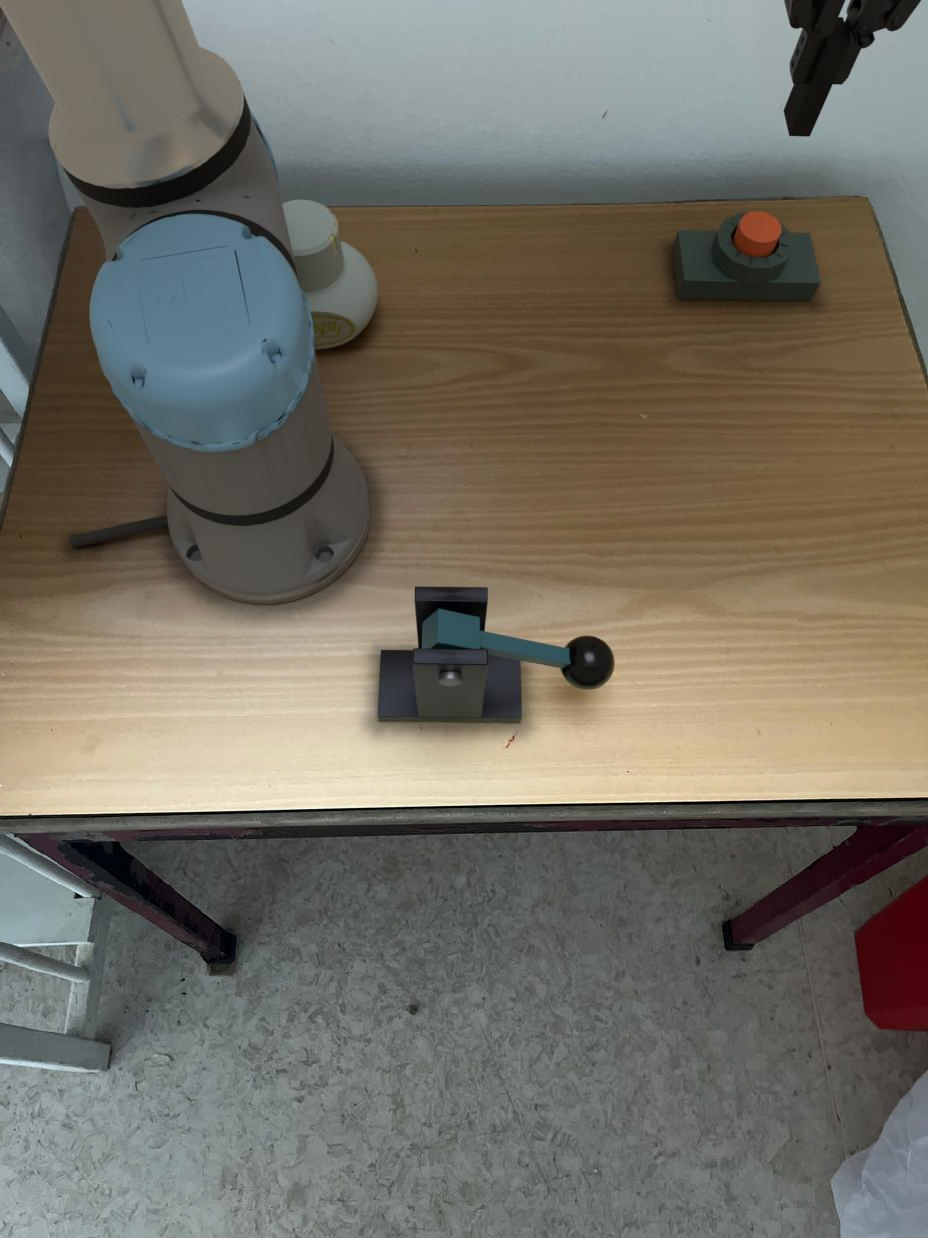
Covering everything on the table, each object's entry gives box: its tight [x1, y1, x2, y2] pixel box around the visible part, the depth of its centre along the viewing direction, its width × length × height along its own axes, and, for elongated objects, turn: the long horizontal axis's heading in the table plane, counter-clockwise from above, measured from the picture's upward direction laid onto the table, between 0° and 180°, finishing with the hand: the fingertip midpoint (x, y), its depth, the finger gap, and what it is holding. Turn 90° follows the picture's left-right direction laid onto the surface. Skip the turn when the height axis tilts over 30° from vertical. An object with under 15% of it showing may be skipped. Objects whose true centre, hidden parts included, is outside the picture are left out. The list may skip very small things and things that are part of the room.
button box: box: [671, 211, 821, 302], centre depth 75 cm, size 12×6×4 cm, turn 90°
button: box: [733, 211, 782, 257], centre depth 73 cm, size 4×4×2 cm
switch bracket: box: [377, 585, 522, 724], centre depth 56 cm, size 10×6×12 cm, turn 90°
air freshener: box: [282, 199, 379, 350], centre depth 70 cm, size 11×8×10 cm
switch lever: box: [422, 609, 616, 691], centre depth 54 cm, size 13×4×4 cm, turn 90°
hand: (796, 122), depth 61 cm, fingers closed
